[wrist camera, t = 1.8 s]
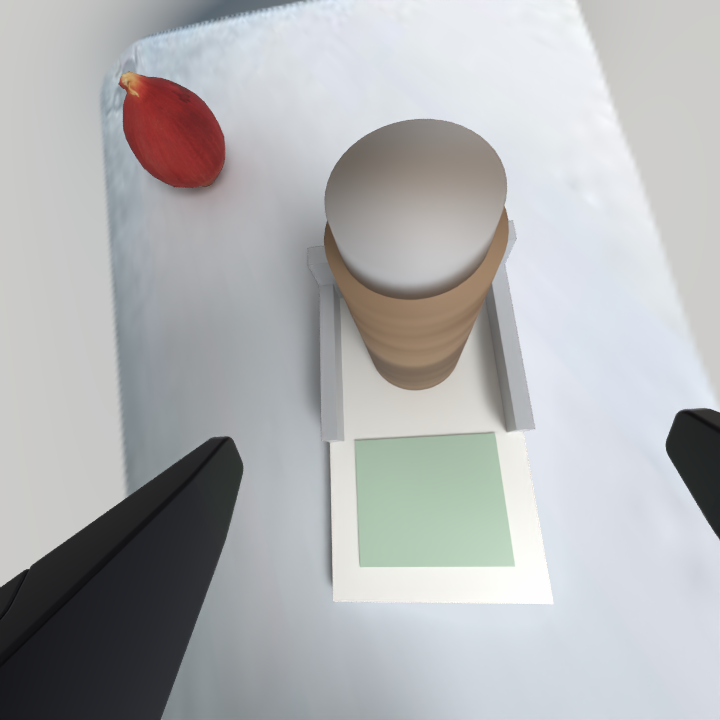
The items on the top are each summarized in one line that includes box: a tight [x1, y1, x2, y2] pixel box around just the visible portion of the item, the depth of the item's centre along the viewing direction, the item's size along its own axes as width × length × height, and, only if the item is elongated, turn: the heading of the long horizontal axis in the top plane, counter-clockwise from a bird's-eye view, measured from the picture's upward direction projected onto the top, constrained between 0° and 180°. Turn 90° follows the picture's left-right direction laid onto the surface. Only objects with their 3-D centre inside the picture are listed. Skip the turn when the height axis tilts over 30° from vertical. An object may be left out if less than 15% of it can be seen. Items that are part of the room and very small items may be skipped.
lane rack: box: [308, 220, 553, 604], centre depth 17 cm, size 17×10×5 cm, turn 2°
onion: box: [119, 71, 225, 188], centre depth 23 cm, size 6×6×8 cm
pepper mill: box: [324, 119, 509, 390], centre depth 14 cm, size 5×5×12 cm
